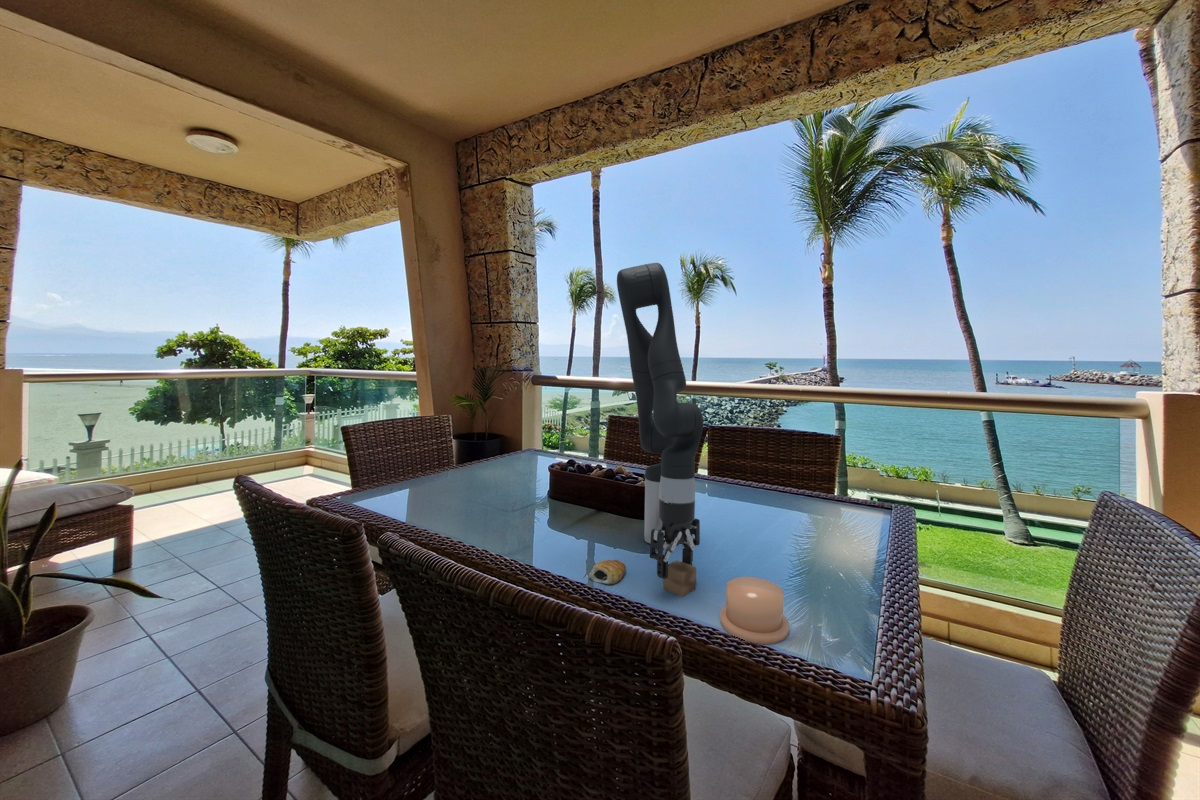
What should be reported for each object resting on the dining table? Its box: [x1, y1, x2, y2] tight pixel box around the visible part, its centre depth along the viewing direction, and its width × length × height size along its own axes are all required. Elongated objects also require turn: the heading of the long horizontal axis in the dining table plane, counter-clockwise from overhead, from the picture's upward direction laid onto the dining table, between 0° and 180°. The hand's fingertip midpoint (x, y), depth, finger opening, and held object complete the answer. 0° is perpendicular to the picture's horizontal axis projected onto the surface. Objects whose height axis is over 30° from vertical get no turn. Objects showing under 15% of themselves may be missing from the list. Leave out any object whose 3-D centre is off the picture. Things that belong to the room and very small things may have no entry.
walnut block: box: [662, 559, 697, 598], centre depth 101 cm, size 5×5×5 cm
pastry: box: [588, 559, 627, 585], centre depth 107 cm, size 9×7×4 cm
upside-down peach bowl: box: [719, 576, 790, 645], centre depth 87 cm, size 12×12×7 cm
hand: (675, 571), depth 101 cm, fingers open, 8 cm apart
